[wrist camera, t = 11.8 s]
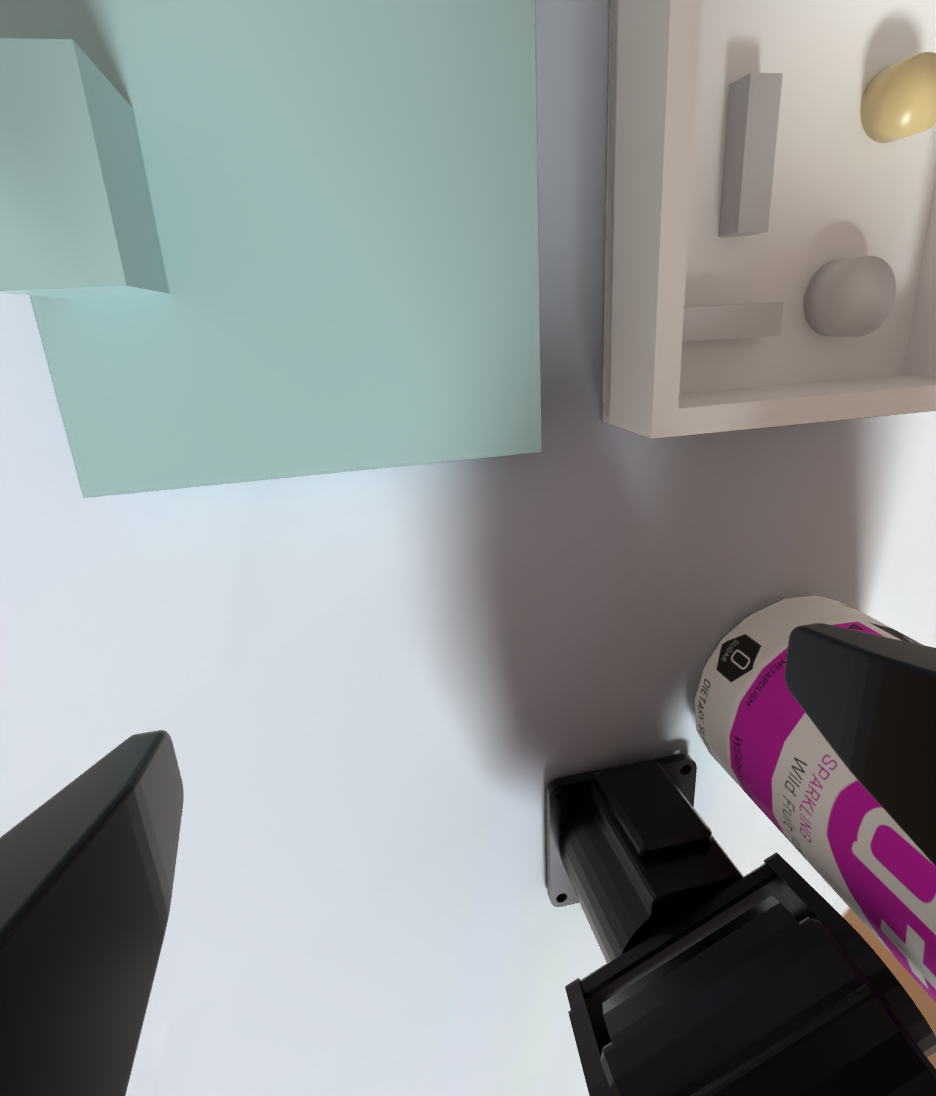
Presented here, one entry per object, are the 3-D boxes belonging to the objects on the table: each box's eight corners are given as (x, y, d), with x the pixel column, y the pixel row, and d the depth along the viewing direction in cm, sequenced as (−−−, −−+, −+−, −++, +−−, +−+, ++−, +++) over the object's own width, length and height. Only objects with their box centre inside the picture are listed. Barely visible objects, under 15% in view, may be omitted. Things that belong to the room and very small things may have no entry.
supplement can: (664, 761, 27) (1016, 1206, 14) (715, 581, 25) (1206, 901, 11) (822, 760, 30) (1267, 1146, 16) (883, 593, 27) (1475, 876, 13)
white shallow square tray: (903, 393, 24) (993, 405, 21) (602, 421, 22) (651, 438, 19) (978, -42, 20) (1109, -114, 16) (610, -62, 17) (677, -149, 14)
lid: (524, 442, 22) (592, 481, 16) (103, 482, 19) (20, 545, 14) (511, -95, 17) (602, -291, 11) (-52, -130, 14) (-271, -398, 9)
